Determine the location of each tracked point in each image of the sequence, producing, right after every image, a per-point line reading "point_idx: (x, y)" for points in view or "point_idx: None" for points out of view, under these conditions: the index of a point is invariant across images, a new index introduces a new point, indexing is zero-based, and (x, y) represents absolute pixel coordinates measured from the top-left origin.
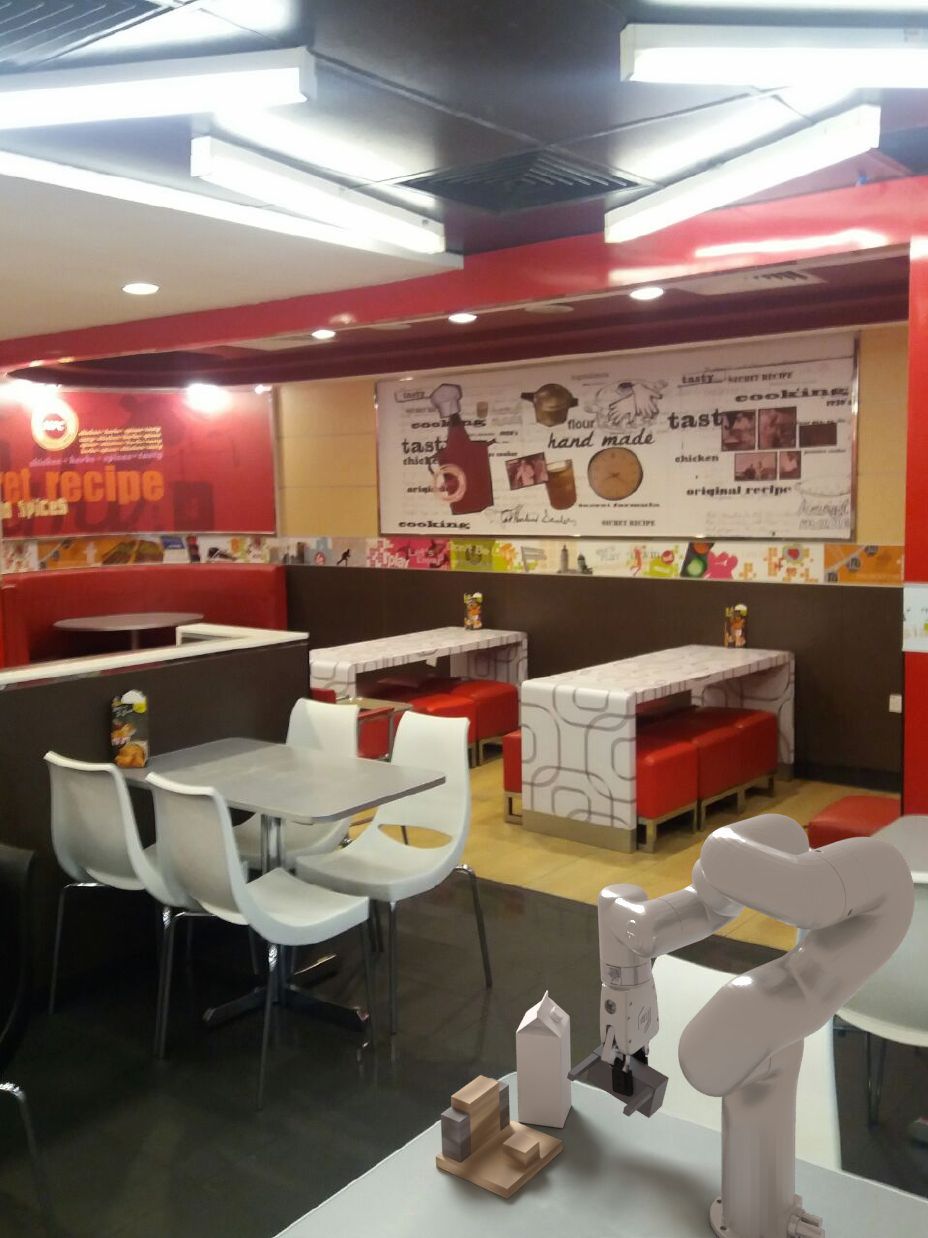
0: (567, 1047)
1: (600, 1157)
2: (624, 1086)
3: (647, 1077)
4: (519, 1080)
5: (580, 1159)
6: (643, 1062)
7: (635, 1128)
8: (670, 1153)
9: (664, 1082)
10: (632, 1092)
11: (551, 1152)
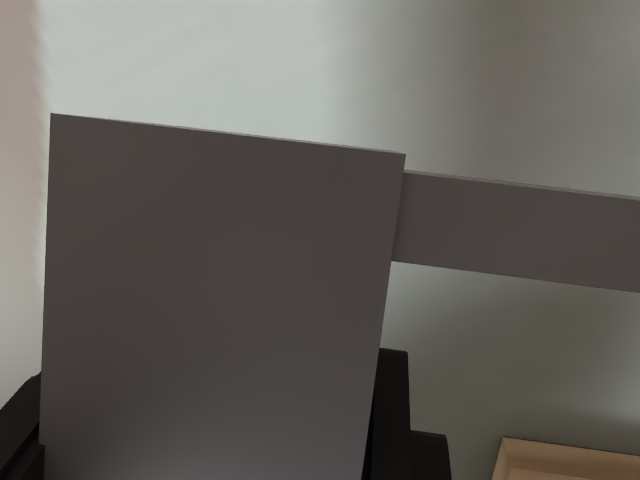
0: None
1: (481, 296)
2: (435, 461)
3: (259, 331)
4: None
5: (531, 359)
6: (37, 472)
7: None
8: (293, 18)
9: (162, 127)
10: (383, 362)
11: (594, 473)
